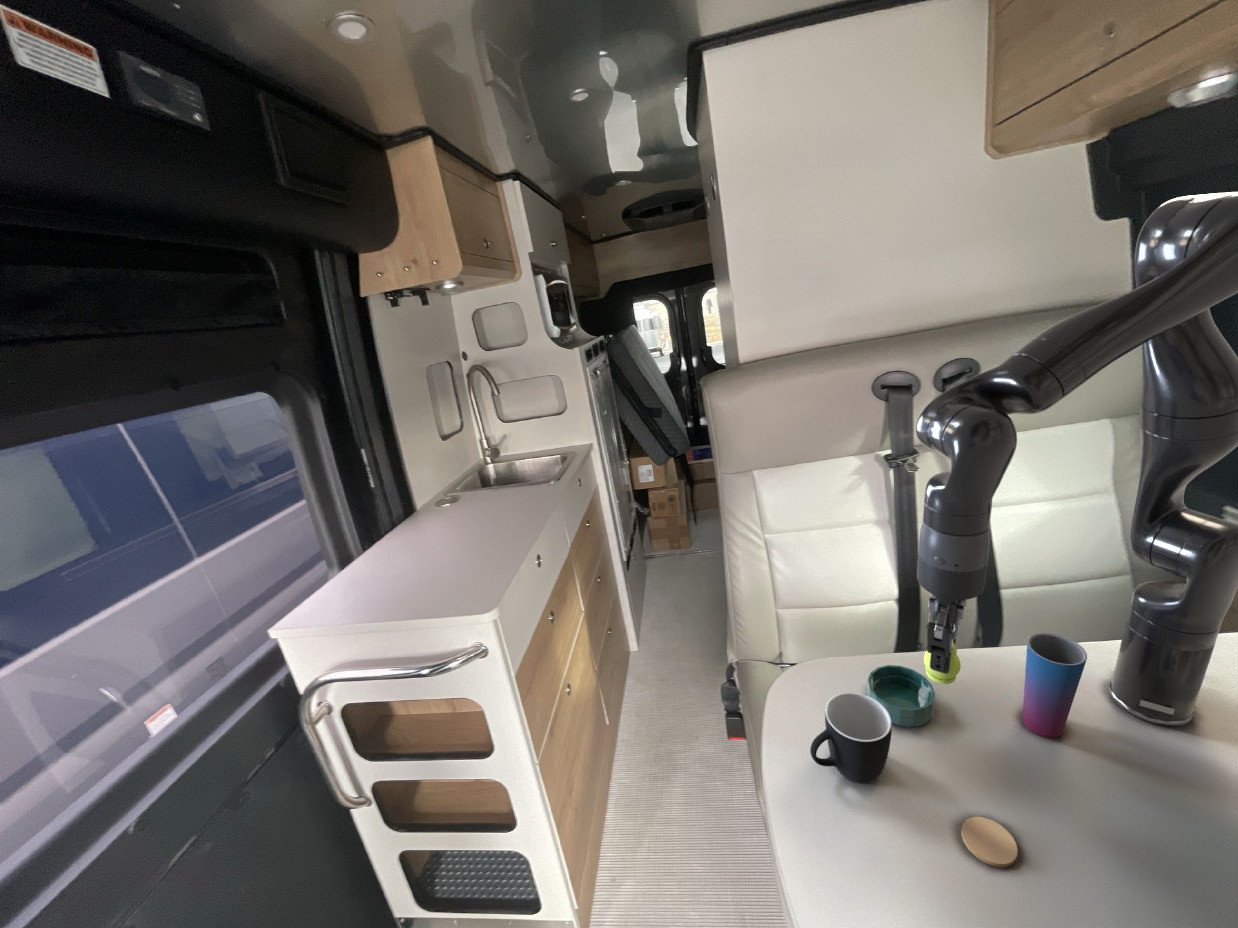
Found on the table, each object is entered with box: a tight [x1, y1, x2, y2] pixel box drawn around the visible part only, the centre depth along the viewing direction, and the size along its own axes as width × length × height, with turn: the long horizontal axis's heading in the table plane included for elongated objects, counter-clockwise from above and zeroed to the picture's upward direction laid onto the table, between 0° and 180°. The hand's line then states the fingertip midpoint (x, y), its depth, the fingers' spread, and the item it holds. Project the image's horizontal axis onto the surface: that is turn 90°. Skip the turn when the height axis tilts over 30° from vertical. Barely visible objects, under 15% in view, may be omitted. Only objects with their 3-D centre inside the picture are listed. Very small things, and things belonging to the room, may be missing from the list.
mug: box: [809, 692, 893, 784], centre depth 79 cm, size 12×9×10 cm
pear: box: [923, 642, 962, 685], centre depth 73 cm, size 4×4×8 cm
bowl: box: [866, 664, 936, 728], centre depth 89 cm, size 10×10×4 cm
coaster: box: [960, 816, 1019, 868], centre depth 69 cm, size 6×6×1 cm
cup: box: [1021, 632, 1088, 739], centre depth 80 cm, size 7×7×15 cm
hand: (942, 658), depth 74 cm, fingers closed on pear, 4 cm apart
